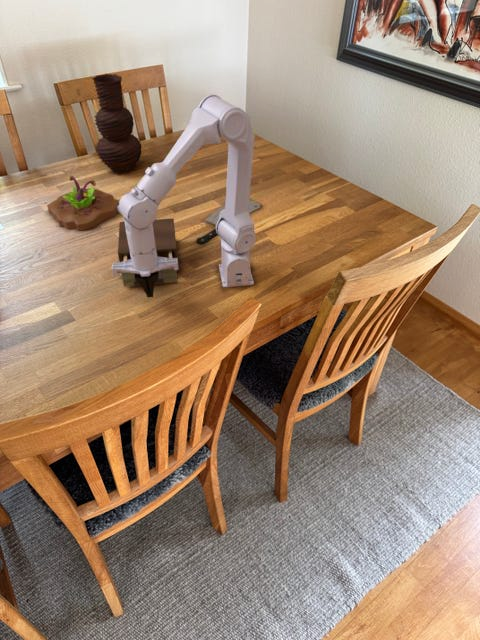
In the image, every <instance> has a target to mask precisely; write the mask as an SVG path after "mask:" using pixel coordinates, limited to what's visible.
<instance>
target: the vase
mask: <svg viewBox="0 0 480 640" xmlns="http://www.w3.org/2000/svg"><path fill="white" fill-rule="evenodd" d="M91 79H92V80H93V84H94V87H95V92H96V95H97V99H98V103H99V104H98V107H100V108H99V109H98V111H97V112H96V113H95V115H94V118H95V120H94V122H95V123H94V124H95V125H96V128H97V129H98V130H97V132H99V134H100V135H101V136H102V137H101V138H99V139H98V142H97V143H96V147H95V149H96V153H97V156H98V158H99V159H100V160H101V163H103V164H104V165H105V166H107V168H109V169H110V170H111V172H112V173H114V174H119V175H122V174H128V173H130V172H132V171H134V169H135V166H136V165H137V163H138V162H139V160H140V159H141V155H142V143H141V142H140V139H139V138H138V137H137V136H135V135H134V134H132V133H133V130H134V125H135V124H134V116H133V115H132V112H131V111H130V110H129V108H127V107H125V105H124V97H123V86H122V79H123V77H122V76H121V75H118V74H116V73H114V74H113V73H104V74H99V75H96V76H93V77H92V78H91Z"/></svg>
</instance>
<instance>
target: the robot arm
mask: <svg viewBox="0 0 480 640" xmlns="http://www.w3.org/2000/svg"><path fill="white" fill-rule="evenodd" d="M221 138H222V139H224V140H225V141H226V142H227V144H228V146H227V166H226V185H225V187H226V188H225V203H224V205H225V209H223V210H222V211H220V214H219V220H218V222H217V224H216V225H215V228H216V233H217V236H219V237H220V245H221V246H220V247H221V248H220V249H221V252H220V253H221V263H219V264H218V270H219V275H220V279H221V284H222V287H223V288H232V287H234V288H235V287H245V286H253V285H254V284H255V282H254V279H253V275H252V270H251V269H252V268H251V267H252V266H251V262H250V260H251V259H250V257H251V256H250V255H251V250H252V248H253V247H254V246H255V244H256V241H257V235H256V232H255V223H254V220H253V218H252V217H251V213H249V212H248V208H249V200H250V195H251V186H252V185H251V183H252V171H253V162H254V161H253V160H254V149H255V133H254V130H253V127H252V124H251V116H250V115H249V114H248V113H247V112H246V111H245V110H244V109H242V108H240V107H238V106H235V105H234V104H231V103H230V102H228V101H226V100H224V99H223V98H222V97H220V96H219V95H217V94H208V95H206V96H205V97H203V98H202V99H201V101H200V103H199V104H198V106H196V107H195V109H193V110H192V113H191V117H190V120H189V123H188V125H187V126H186V127H185V129H184V131H183V132H182V133H181V134H180V136H179V138H178V139H177V141H176V142H175V144H174V145H173V146H172V148H171V150H170V151H169V152H168V154H166V157H165V158H164V159H163V161H160V162H155V163H153V164H152V165H151V167H150V166H148V167H147V168H146V169H145V171H144V173H145V174H144V175H143V177H142V178H141V179H140V180H139V181H138V183H136V186H134V187H132V188H131V190H130V191H129V192H126V193H124V194H123V195H122V196H121V197H120V199H119V200H118V201H119V206H117V209H118V213H119V214H120V215H121V216H122V217H123V222H125V228H126V235H127V240H128V245H129V251H130V256H131V259H130V260H126V261H123V262H120V261H119V262H113V263H112V264H111V271H112V275H113V276H118V275H119V274H121V273H128V272H129V273H134V275H135V280H136V282H137V283H139V284H140V285H139V286H140V287H141V288H142V289H143V291H144V293H145V296H146V297H147V298H153V297H154V290H155V287H156V285H157V284H156V282H157V280H158V276H159V275H158V271H159V270H163V269H174V270H179V271H180V268H179V269H178V267H179V260H178V259H179V258H178V259H177V258H165V257H157V252H156V245H155V238H154V230H153V224H152V223H153V222H154V221H155V220H156V218H157V211H158V209H159V206H160V204H161V203H162V202H163V200H164V199H166V197H167V195H168V194H169V193H170V192H171V190H172V189H173V188H174V187H175V186H176V184H177V174H178V172H180V171H181V169H182V168H183V167H184V166H185V165H186V164H187V163H188V162H189V160H191V158H193V157H194V155H195V154H196V153H197V152H198V151H199V150H200V149H201V148H202V146H204V145H215V144H216V145H217V144H221V143H222V140H221ZM147 279H148V280H147ZM148 283H149V284H148Z"/></svg>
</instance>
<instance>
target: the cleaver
mask: <svg viewBox="0 0 480 640" xmlns="http://www.w3.org/2000/svg"><path fill="white" fill-rule="evenodd" d="M223 209H225V204H223V205H222V206H220V207H219V208H218V209H216V210H215V211H214V212H213V213H212V214H210V215H209V216H207V218H205V219H204V221H205V222H207V223H209V224H212V225H214V226H216V224H217V222H218V220H219V214H220V211H222V210H223ZM259 209H261V204H260V203H258V202H257V201H254V200H251V199H249V208H248V212H249V214H251V213H253V212H256V211H257V210H259ZM215 236H218V234H217V233H216V227H215V228H213V229H212V230H211V231H210V232H208V233H206V234H204V235H203V236H201V237H197V238H196V240H195V241H196V242H195V243H196V244H198V245H205V244H206V243H207V242H209V241H210V240H211V239H212V238H214V237H215Z"/></svg>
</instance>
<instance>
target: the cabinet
mask: <svg viewBox="0 0 480 640" xmlns="http://www.w3.org/2000/svg"><path fill="white" fill-rule="evenodd" d="M152 224H153V230H154V238H155V245H156V252H170V251H172V256H173V258H177V259H179V258H178V249H177V239H176V229H175V219H174V217H173V218H160V219H159V218H158V219H155V221H154V222H153V223H152ZM117 242H118V243H117V256H118V261H119V262H123V261H124V255H130V251H129V245H128V240H127V235H126V228H125V222H124V221H119V225H118V241H117ZM178 269H179V270H176V271H177V273H179V272H180V268H179V266H178Z"/></svg>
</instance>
